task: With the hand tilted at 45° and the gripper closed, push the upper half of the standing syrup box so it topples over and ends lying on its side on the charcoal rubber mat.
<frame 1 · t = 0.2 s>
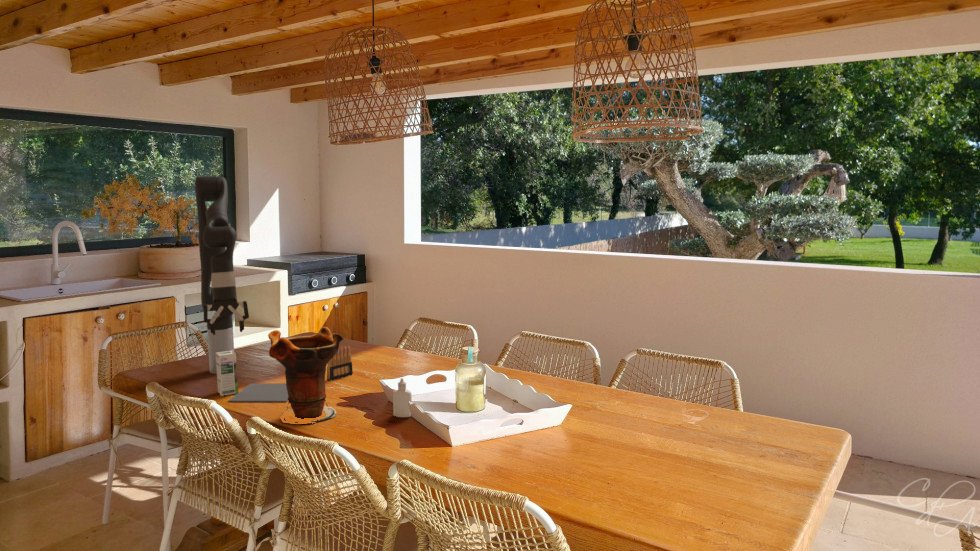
hand: (227, 333, 230), 22 cm above the table, tool pointing down, fingers open, 8 cm apart
syrup box: (228, 393, 236), on the table
ammunition clip: (340, 377, 255), on the table
eye dropper bottle: (402, 416, 212), on the table
decorative vase: (307, 416, 212), on the table
mat: (267, 393, 235), on the table
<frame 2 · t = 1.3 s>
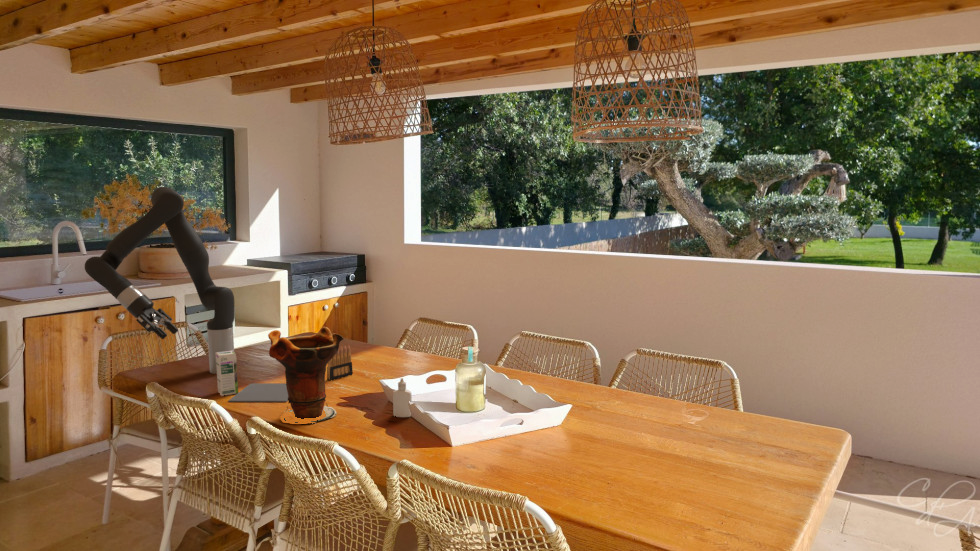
hand: (170, 334, 233), 21 cm above the table, tool tilted 45°, fingers open, 7 cm apart
nothing on the table moved.
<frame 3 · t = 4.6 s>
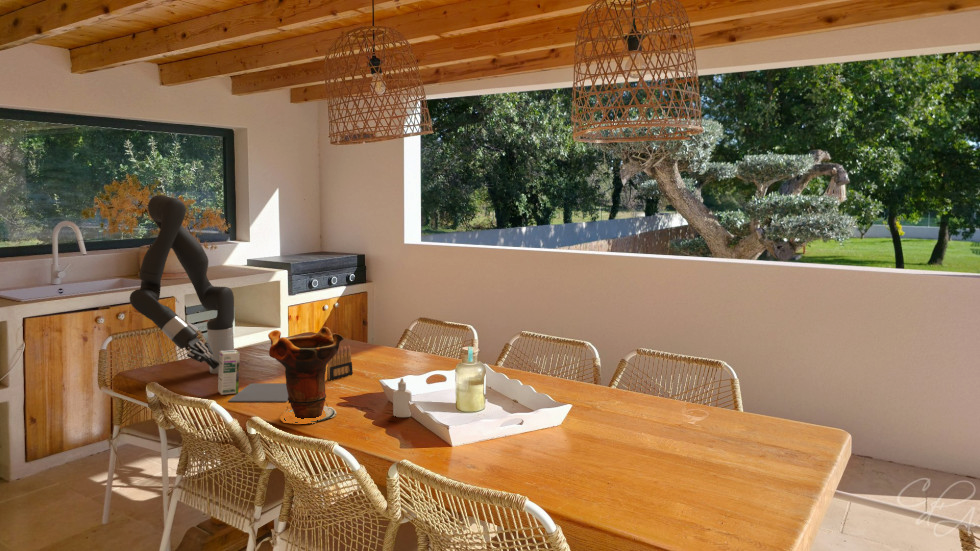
hand: (216, 366, 235), 9 cm above the table, tool tilted 45°, fingers closed
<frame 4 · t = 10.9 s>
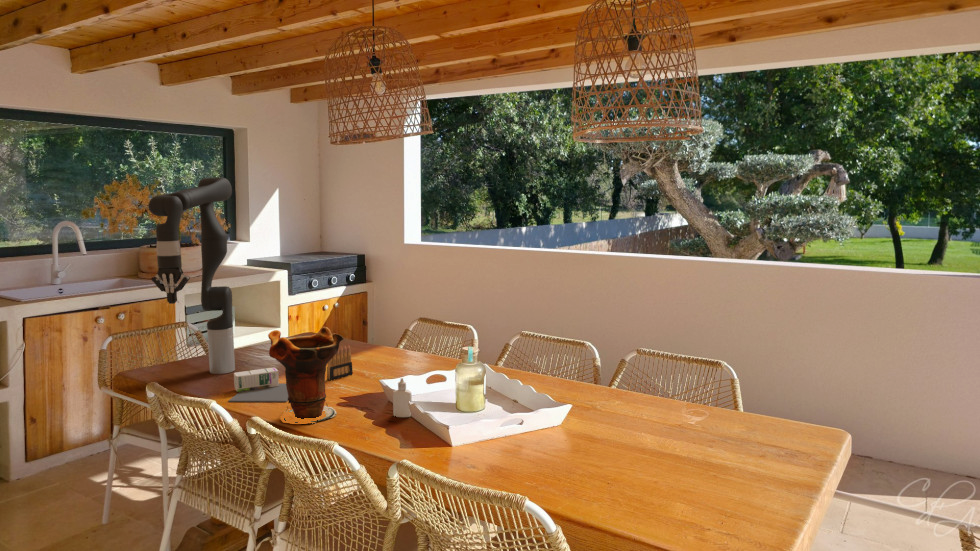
hand: (172, 303, 236), 31 cm above the table, tool pointing down, fingers closed
syrup box: (234, 382, 237), point 3 cm above the table, touching mat
everything else where it was.
at the end: syrup box tilted 90°; syrup box touching mat; syrup box inside the target area on the mat (8.7 cm from its centre), point 3.4 cm above the mat's base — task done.
